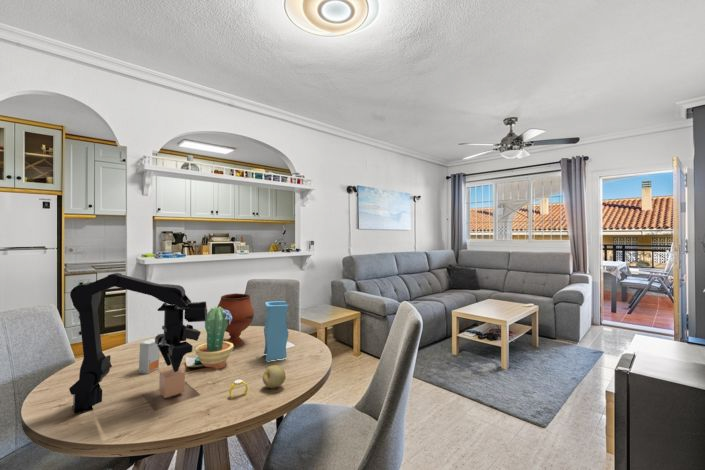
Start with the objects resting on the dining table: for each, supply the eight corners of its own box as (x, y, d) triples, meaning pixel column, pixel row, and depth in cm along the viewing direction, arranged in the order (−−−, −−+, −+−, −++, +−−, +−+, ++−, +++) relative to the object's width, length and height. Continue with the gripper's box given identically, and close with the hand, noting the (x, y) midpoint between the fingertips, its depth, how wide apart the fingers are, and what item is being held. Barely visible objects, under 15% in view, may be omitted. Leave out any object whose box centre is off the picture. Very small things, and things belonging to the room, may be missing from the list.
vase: (287, 360, 144) (289, 305, 144) (265, 362, 140) (267, 306, 141) (284, 352, 153) (285, 300, 153) (263, 354, 150) (264, 301, 150)
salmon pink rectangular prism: (164, 397, 104) (165, 377, 104) (159, 391, 108) (159, 372, 108) (184, 391, 109) (184, 372, 109) (178, 385, 113) (178, 367, 113)
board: (154, 413, 98) (154, 410, 98) (141, 397, 108) (142, 394, 108) (200, 397, 109) (200, 394, 109) (185, 384, 118) (185, 381, 118)
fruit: (261, 384, 119) (262, 363, 120) (283, 381, 122) (284, 360, 122) (263, 394, 112) (263, 371, 112) (286, 390, 115) (287, 368, 115)
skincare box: (147, 374, 126) (148, 344, 126) (138, 372, 127) (139, 343, 127) (159, 368, 132) (160, 339, 132) (150, 367, 133) (151, 338, 133)
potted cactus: (215, 375, 126) (217, 312, 127) (185, 369, 131) (187, 309, 132) (240, 361, 141) (242, 305, 141) (213, 356, 146) (214, 302, 146)
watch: (230, 403, 106) (229, 385, 106) (228, 399, 109) (227, 382, 109) (248, 397, 110) (247, 380, 110) (246, 393, 112) (245, 377, 112)
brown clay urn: (227, 337, 175) (228, 291, 175) (260, 339, 171) (261, 293, 172) (205, 348, 156) (207, 298, 156) (241, 352, 153) (243, 300, 153)
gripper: (209, 324, 108) (207, 369, 108) (188, 314, 121) (187, 355, 121) (173, 330, 100) (171, 380, 100) (155, 319, 113) (153, 363, 113)
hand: (172, 368), depth 108 cm, fingers open, 7 cm apart
